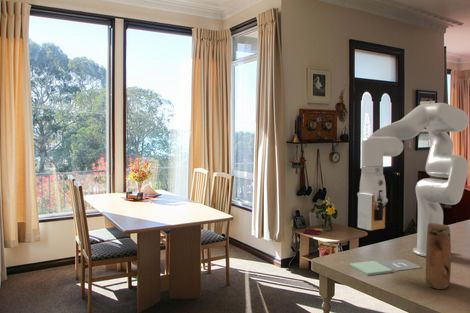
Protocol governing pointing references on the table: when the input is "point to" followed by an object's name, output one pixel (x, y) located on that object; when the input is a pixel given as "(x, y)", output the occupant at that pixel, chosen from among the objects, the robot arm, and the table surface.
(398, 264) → the slate tile
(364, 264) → the sage board
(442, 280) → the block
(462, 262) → the table surface
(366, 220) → the small box
